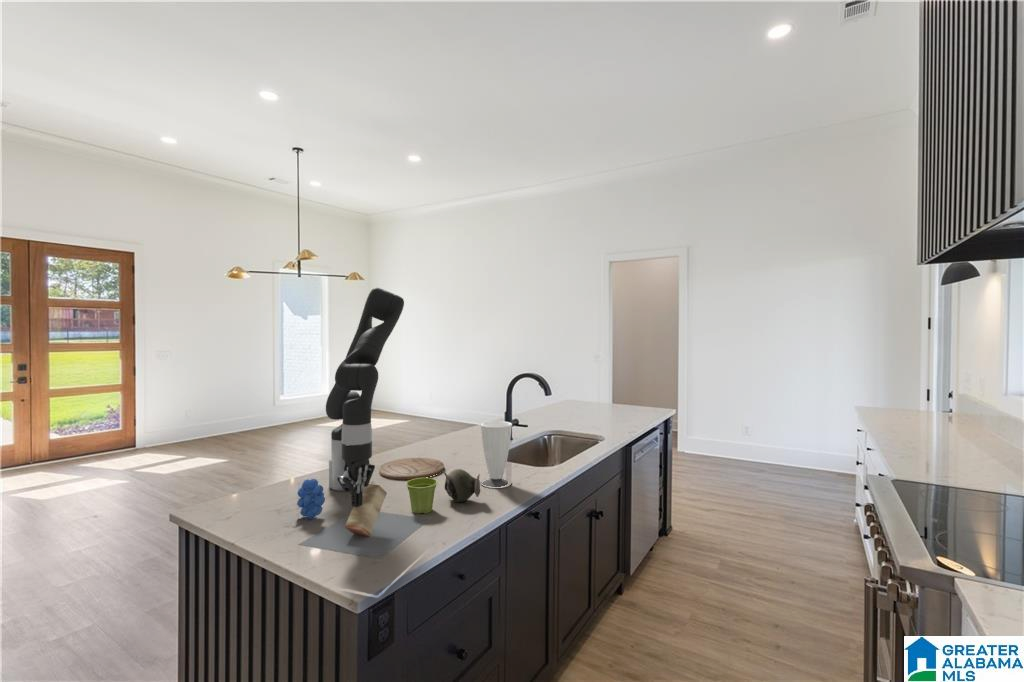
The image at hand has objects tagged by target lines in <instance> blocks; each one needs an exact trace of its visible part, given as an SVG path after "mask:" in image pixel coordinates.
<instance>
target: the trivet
mask: <svg viewBox="0 0 1024 682" xmlns="http://www.w3.org/2000/svg"><path fill="white" fill-rule="evenodd" d="M378 469H379V470H378V471H379V475H380V476H381V477H382V478H386V479H387V480H388V479H389V480H393V479H394V480H395V481H409V480H412V479H416V478H426V477H430V476H433V475H436V474H438V475H440V474H441V473H440V472H442V471H443V470H444V471H445V464H444V462H443V461H440V460H438V459H434V458H429V457H409V458H401V459H400V458H399V459H395V460H391V461H387V462H385V463H383V464H382V465H380V466H379V468H378ZM444 471H443V472H444ZM443 472H442V473H443ZM439 473H440V474H439ZM436 476H437V475H436ZM433 477H434V476H433ZM430 478H431V477H430ZM394 480H393V481H394Z"/></svg>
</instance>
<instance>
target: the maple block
mask: <svg viewBox="0 0 1024 682" xmlns="http://www.w3.org/2000/svg"><path fill="white" fill-rule="evenodd" d="M386 497H387V492H386V490H385V489H384V488H383V487H382V486H381V485H380V484H372V483H369V484H368V486H367V487H365V488H364V491H363V501H362V505H361V506H359V507H352V508H351V512H350V514H349V515H350V516H349V518H348V520H347V523H346V525H345V528H346V529H347V530H349V531H350V532H351V533H353V534H356V535H362V536H368V537H370V535H371V532H372V530H373V527H374V525H375V522H376V520H377V517H378V514H379V512H381V509H382V506H383V504H384V502H385V499H386Z"/></svg>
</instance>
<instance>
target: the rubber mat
mask: <svg viewBox="0 0 1024 682" xmlns="http://www.w3.org/2000/svg"><path fill="white" fill-rule="evenodd" d="M349 516H350V514H348V515H346V516H345V517H343V518H342V519H339V520H338V521H336V522H334V523H333V524H331V525H329V526H327V527H326V528H324V529H322V530H320V531H319V532H317V533H316V534H313V535H312V536H310V537H309V538H307V539H305V540H303V541H301V542H300V543H297V544H298V546H304V547H308V548H309V547H310V548H315V549H319V550H320V549H321V550H325V551H326V550H327V551H332V552H338V553H343V554H349V555H354V556H359V557H360V556H361V557H365V558H372V559H378V560H381V559H382V558H384V557H385V556H387V554H389V553H390V552H391V551H393V550H394V549H395V548H396V547H398V546H399V545H400V544H401V543H402V542H403V541H405V540H406V539H407V538H408V537H410V536H411V535H412V534H413V533H415V532H416V531H418V529H419V528H421V527H422V526H423V525H425V524H426V523H428V521H430V520H431V518H426V517H419V516H413V515H406V514H398V513H391V512H385V511H380V512H379V514H378V517H377V520H376V522H375V525H374V527H373V530H372V532H371V535H370V537H368V536H362V535H356V534H353V533H351V532H350V531H349V530H347V529H346V528H345V525H346V523H347V520H348V518H349Z"/></svg>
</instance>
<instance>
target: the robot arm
mask: <svg viewBox="0 0 1024 682" xmlns="http://www.w3.org/2000/svg"><path fill="white" fill-rule="evenodd" d="M404 306H405V300H404V298H403V297H401V296H400V295H397V294H396V293H393V292H390V291H387V290H385V289H383V288H380V287H374V288H372V289H371V290H370V292H369V294H368V296H367V297H366V301H365V303H364V307H363V310H362V313H361V317H360V319H359V323H358V325H357V326H358V327H357V328H356V332H355V333H354V337H353V339H352V341H351V344H350V346H349V348H348V350H347V353H346V356H345V358H344V359H343V360H342V361H341V362H340V364H339V365H338V367H337V369H336V371H335V374H334V381H335V382H334V383H335V384H334V385H333V387H332V388H331V390H330V392H329V394H328V397H327V399H326V404H325V413H326V416H327V417H328V418H329V419H331V420H335V421H336V420H338V421H339V420H342V423H341V424H340V425H339V426H337V427H335V428H334V429H332V431H331V434H330V435H331V446H330V447H331V448H330V449H331V456H330V457H331V459H330V460H329V461H328V489H329V488H330V489H332V490H334V491H339V492H340V491H341V492H345V493H350V494H351V495H350V499H351V500H350V505H351V507H352V508H353V507H359V506H361V505H362V501H363V491H364V488H365V487H367V486H368V484H370V481H371V479H372V476H373V473H374V471H375V467H376V465H375V464H371V463H370V459H371V458H372V456H373V427H372V405H373V400H374V396H375V395H374V394H375V391H376V389H377V385H378V381H379V371H378V369H377V368H376V365H377V364H378V362H379V359H380V357H381V354H382V352H383V348H384V347H385V344H386V342H387V340H388V339H389V337H390V336H391V334H392V332H393V330H394V328H395V327H396V325H397V323H398V322H399V319H400V318H401V315H402V313H403V310H404ZM373 318H374V319H376V320H379V321H382V323H380V324H378V325H376V326H374V327H373V323H372V322H373ZM357 391H360V392H361V394H359V393H358V392H357Z"/></svg>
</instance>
